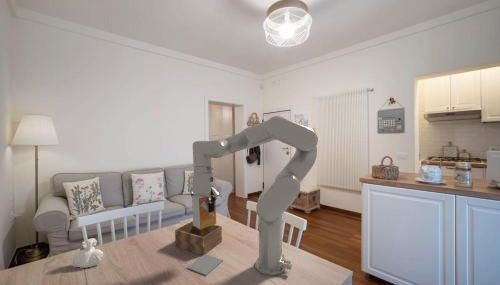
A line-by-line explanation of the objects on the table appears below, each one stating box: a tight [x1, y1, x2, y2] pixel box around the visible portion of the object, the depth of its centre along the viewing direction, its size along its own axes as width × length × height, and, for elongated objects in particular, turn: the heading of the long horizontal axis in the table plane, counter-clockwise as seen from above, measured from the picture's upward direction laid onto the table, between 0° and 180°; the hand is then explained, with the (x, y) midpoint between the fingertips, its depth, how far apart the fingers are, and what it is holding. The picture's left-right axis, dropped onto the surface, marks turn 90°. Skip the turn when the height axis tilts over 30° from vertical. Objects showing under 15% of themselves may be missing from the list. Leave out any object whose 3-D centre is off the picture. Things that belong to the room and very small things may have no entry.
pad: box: [186, 253, 224, 277], centre depth 90 cm, size 10×11×1 cm
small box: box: [191, 194, 217, 229], centre depth 92 cm, size 8×6×13 cm
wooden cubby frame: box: [174, 220, 223, 256], centre depth 107 cm, size 18×14×8 cm
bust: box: [71, 237, 104, 269], centre depth 92 cm, size 12×8×11 cm
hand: (204, 210), depth 92 cm, fingers closed on small box, 7 cm apart
